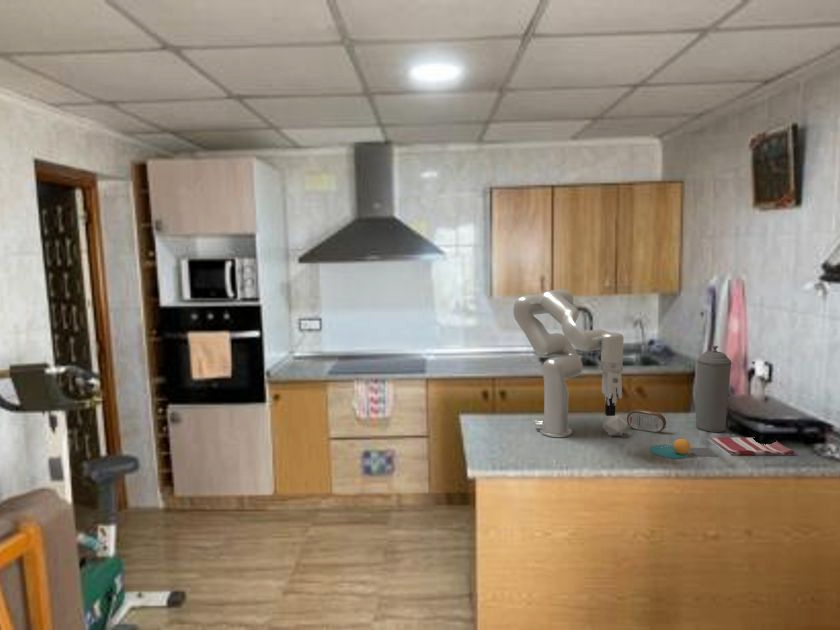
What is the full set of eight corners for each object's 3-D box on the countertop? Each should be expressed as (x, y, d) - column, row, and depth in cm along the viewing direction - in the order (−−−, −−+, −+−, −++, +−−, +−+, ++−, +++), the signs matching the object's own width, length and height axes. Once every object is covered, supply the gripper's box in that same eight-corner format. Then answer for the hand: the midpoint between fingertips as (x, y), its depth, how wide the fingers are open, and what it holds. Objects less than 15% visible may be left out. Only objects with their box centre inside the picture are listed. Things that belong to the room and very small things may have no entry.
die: (622, 441, 220) (633, 419, 222) (603, 429, 221) (613, 408, 223) (615, 441, 228) (625, 420, 230) (596, 430, 229) (607, 410, 231)
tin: (665, 432, 227) (666, 412, 226) (664, 435, 224) (665, 414, 223) (627, 426, 235) (628, 407, 234) (625, 428, 232) (626, 409, 231)
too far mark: (695, 456, 201) (695, 455, 201) (686, 448, 209) (686, 447, 209) (718, 456, 201) (718, 455, 201) (708, 448, 209) (708, 447, 209)
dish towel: (795, 457, 201) (796, 450, 201) (730, 457, 201) (731, 450, 201) (767, 440, 218) (767, 434, 218) (707, 441, 218) (707, 434, 218)
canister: (694, 431, 228) (698, 347, 223) (692, 422, 239) (696, 342, 235) (729, 435, 223) (734, 349, 219) (725, 425, 235) (730, 344, 230)
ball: (696, 448, 201) (686, 460, 202) (687, 440, 206) (676, 451, 207) (687, 441, 199) (676, 452, 200) (678, 433, 205) (667, 444, 206)
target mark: (648, 455, 203) (648, 454, 203) (651, 443, 214) (651, 443, 214) (688, 460, 197) (688, 460, 197) (688, 448, 209) (688, 448, 209)
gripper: (628, 371, 195) (626, 421, 197) (615, 362, 210) (614, 409, 212) (607, 371, 196) (605, 421, 198) (595, 362, 210) (594, 409, 213)
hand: (610, 415), depth 205 cm, fingers closed
